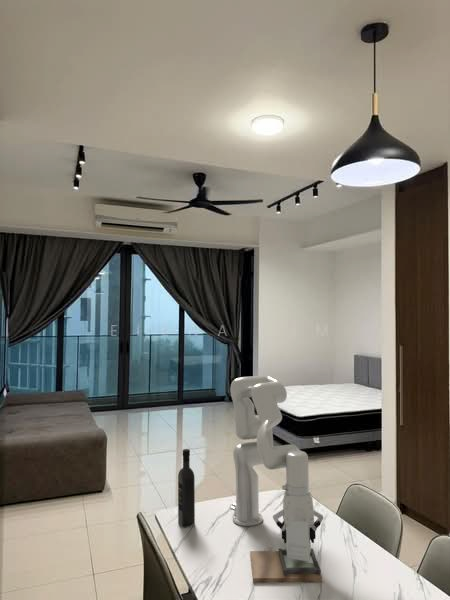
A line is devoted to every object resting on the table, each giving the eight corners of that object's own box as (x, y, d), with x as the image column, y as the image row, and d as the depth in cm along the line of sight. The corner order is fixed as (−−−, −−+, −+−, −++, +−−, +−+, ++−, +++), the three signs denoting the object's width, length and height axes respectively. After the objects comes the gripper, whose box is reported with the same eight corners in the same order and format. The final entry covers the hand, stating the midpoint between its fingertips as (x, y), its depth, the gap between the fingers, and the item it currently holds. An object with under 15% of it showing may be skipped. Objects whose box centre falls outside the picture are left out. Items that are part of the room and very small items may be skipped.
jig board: (253, 583, 135) (252, 573, 135) (250, 555, 151) (250, 546, 151) (322, 582, 135) (321, 572, 135) (311, 554, 151) (311, 546, 151)
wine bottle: (183, 528, 171) (182, 452, 172) (177, 522, 176) (177, 449, 177) (195, 524, 174) (195, 450, 175) (189, 519, 178) (189, 447, 180)
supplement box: (311, 550, 145) (310, 512, 146) (308, 562, 138) (307, 522, 139) (289, 547, 148) (289, 509, 148) (286, 558, 140) (285, 519, 141)
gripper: (273, 493, 140) (274, 547, 139) (325, 493, 140) (326, 546, 139) (270, 485, 148) (271, 535, 147) (320, 484, 148) (321, 535, 147)
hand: (298, 541), depth 143 cm, fingers closed on supplement box, 8 cm apart
